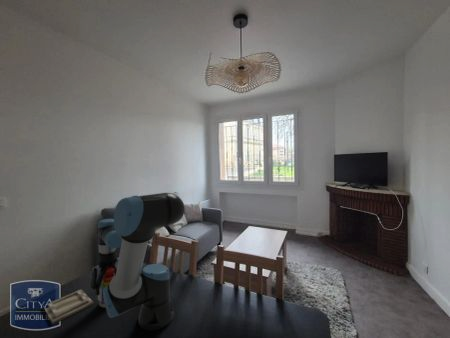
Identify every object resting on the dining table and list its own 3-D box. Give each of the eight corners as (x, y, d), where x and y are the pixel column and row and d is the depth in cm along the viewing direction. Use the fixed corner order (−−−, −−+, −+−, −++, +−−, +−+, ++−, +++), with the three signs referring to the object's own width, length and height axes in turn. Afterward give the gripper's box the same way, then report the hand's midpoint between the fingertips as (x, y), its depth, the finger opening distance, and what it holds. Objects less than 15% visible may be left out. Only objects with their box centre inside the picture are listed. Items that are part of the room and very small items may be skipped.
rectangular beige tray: (93, 304, 102) (93, 299, 102) (52, 324, 90) (52, 319, 90) (81, 291, 112) (81, 287, 112) (42, 308, 99) (42, 303, 99)
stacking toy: (109, 309, 99) (108, 271, 98) (95, 307, 100) (94, 269, 99) (121, 298, 106) (120, 263, 106) (107, 296, 108) (107, 261, 107)
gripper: (124, 242, 112) (124, 283, 114) (80, 256, 96) (82, 303, 97) (131, 246, 108) (132, 288, 109) (87, 261, 92) (88, 311, 93)
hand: (108, 295), depth 103 cm, fingers closed on stacking toy, 7 cm apart
